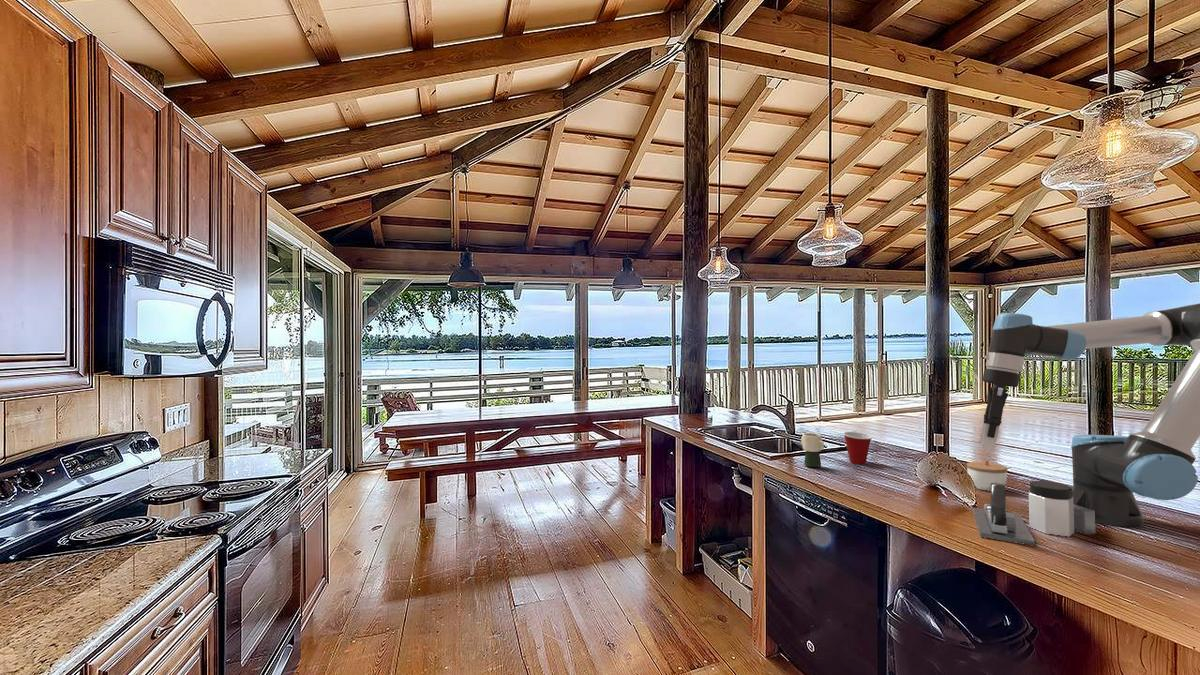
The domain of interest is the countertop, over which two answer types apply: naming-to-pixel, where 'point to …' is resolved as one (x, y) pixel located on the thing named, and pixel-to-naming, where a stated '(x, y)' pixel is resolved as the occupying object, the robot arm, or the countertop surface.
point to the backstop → (1084, 520)
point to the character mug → (812, 448)
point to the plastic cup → (857, 446)
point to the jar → (1051, 508)
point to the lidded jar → (986, 474)
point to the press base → (1017, 536)
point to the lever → (999, 510)
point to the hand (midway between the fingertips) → (986, 446)
